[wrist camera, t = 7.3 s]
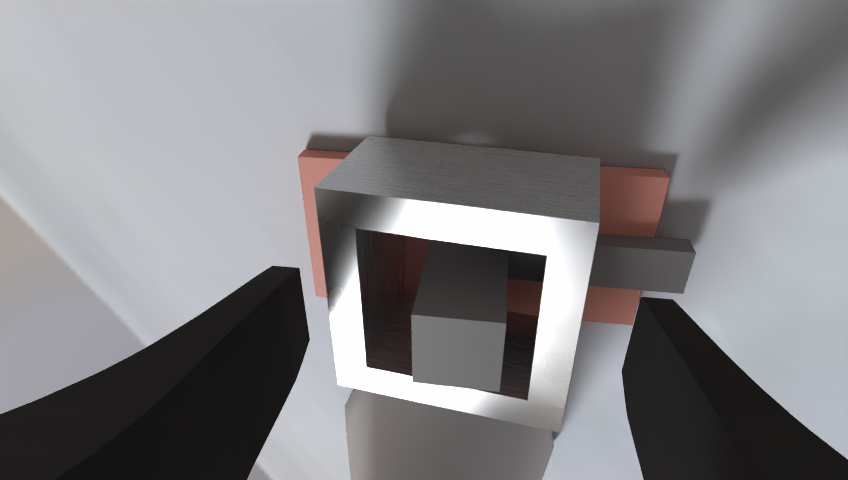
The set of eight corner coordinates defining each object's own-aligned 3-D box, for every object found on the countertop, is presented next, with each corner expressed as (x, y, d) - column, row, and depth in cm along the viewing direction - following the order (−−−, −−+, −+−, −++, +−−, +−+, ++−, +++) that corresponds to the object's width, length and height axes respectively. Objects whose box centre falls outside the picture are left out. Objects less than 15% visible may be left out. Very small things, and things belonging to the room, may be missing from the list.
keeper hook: (700, 171, 13) (783, 287, 9) (658, 315, 15) (709, 460, 11) (304, 149, 14) (219, 242, 10) (321, 286, 16) (258, 406, 12)
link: (600, 158, 12) (599, 223, 9) (567, 344, 15) (560, 432, 12) (368, 135, 13) (313, 187, 11) (379, 311, 16) (337, 384, 13)
